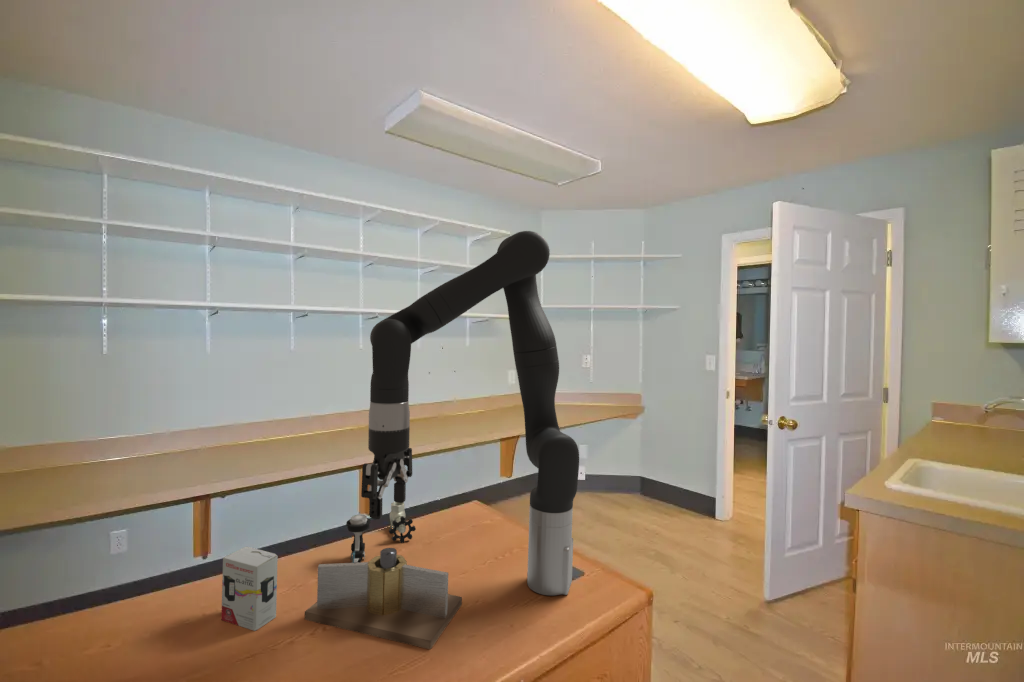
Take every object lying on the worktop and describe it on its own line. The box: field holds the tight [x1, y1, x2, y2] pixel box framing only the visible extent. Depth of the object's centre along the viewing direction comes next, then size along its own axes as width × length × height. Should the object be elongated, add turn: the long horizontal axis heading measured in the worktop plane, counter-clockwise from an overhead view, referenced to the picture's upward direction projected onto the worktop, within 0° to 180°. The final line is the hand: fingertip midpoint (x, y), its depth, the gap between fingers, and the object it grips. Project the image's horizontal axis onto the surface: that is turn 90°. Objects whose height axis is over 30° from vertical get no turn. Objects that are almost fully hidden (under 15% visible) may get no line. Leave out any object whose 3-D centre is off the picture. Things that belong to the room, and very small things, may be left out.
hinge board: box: [304, 593, 463, 650], centre depth 91 cm, size 26×14×2 cm, turn 74°
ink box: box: [220, 546, 279, 632], centre depth 88 cm, size 9×5×12 cm, turn 70°
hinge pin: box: [379, 547, 398, 569], centre depth 91 cm, size 3×3×10 cm
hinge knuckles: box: [316, 554, 449, 618], centre depth 90 cm, size 24×9×8 cm, turn 74°
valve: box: [388, 501, 416, 544], centre depth 126 cm, size 7×7×12 cm
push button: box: [346, 513, 372, 563], centre depth 110 cm, size 7×5×10 cm
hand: (388, 509), depth 91 cm, fingers open, 8 cm apart
